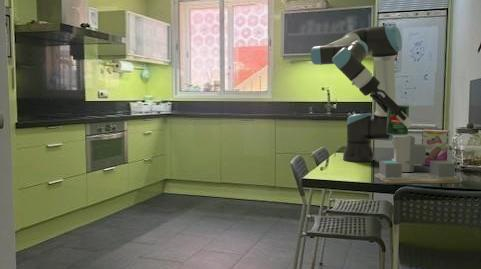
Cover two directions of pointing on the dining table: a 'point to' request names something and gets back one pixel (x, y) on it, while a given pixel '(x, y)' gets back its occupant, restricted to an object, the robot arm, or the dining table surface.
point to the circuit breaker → (408, 152)
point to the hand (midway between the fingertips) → (406, 124)
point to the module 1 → (390, 168)
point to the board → (422, 181)
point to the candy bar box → (436, 145)
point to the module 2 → (442, 168)
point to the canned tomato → (397, 122)
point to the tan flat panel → (415, 176)
